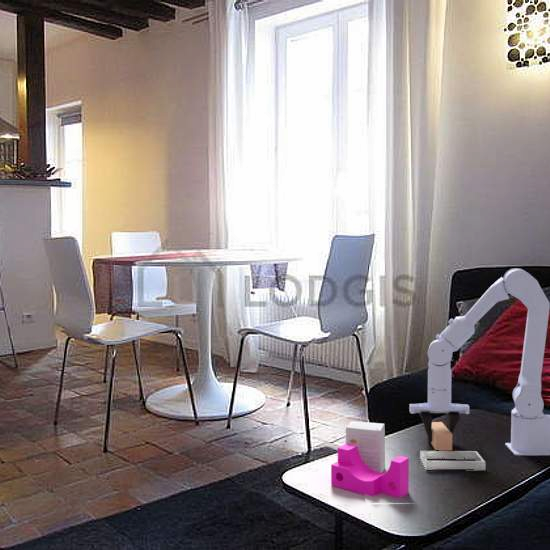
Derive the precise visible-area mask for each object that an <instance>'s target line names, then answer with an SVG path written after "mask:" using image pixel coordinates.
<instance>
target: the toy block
mask: <svg viewBox="0 0 550 550" xmlns="http://www.w3.org/2000/svg"><path fill="white" fill-rule="evenodd" d="M409 460H410V459H409V457H406V456H404V455H403V456H402V455H399V456H397V457H395V458H393V459H392V460H391V461H390V464H389V465H390V466H388V467H389V468H388V469H387V471H386V472H384V471H383V472H377V471H374V470H372V469H371V468H369V467H368V466H367V465H366V464H365V463H364V461H363V460H362V458H361V457H360V454H359V451H358V446H356V445H352V444H346V443H345V444H343V445H341V446H338V447H337V461H336V462H334V463H332V464H331V466H330V468H331V469H330V470H331V471H330V472H331V475H330V476H331V477H330V479H331V480H330V481H331V484H330V485H331V486H332V487H337V488H340V489H342V490H347V491H350V492H353V493H357V494H361V495H367V496H371V497H375V496H377V495H379V494H384V495H387V496H391V497H393V498H399V499H401V498H403V497H404V496H405V495H407V494H408V493H410V492H409V486H410V485H409V482H410V481H409V478H410V477H409V475H410V474H409V471H410V466H409V464H410V461H409Z"/></svg>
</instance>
